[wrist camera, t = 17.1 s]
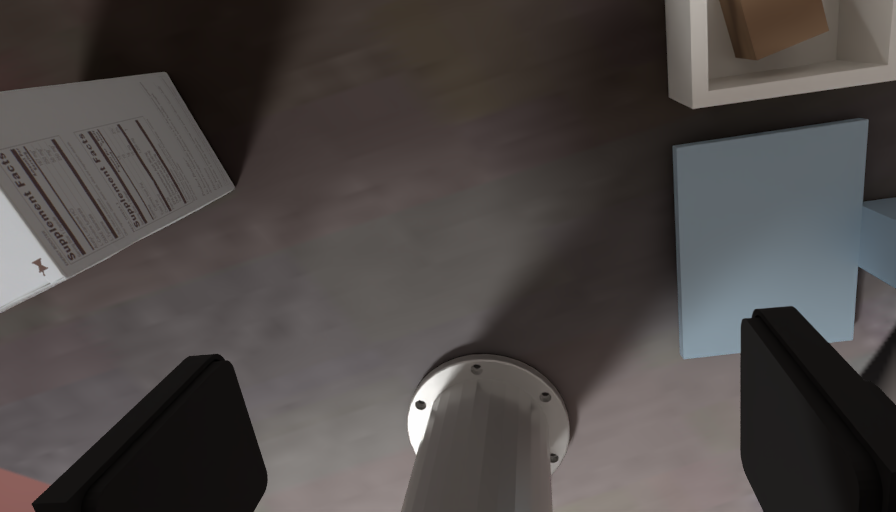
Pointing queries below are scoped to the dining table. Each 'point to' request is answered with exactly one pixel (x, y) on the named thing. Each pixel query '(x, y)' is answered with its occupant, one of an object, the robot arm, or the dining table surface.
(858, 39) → the tub
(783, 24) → the part cube
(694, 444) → the dining table surface
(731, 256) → the lid
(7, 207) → the supplement box
